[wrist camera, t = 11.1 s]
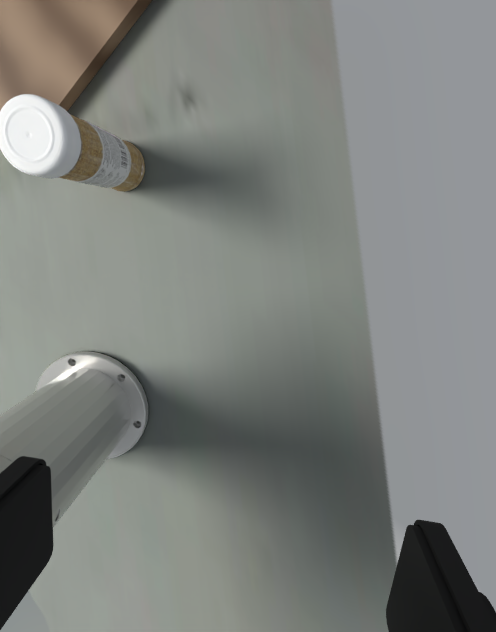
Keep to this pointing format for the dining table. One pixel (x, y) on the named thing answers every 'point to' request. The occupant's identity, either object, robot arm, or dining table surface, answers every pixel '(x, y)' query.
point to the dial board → (59, 44)
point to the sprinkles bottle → (66, 146)
